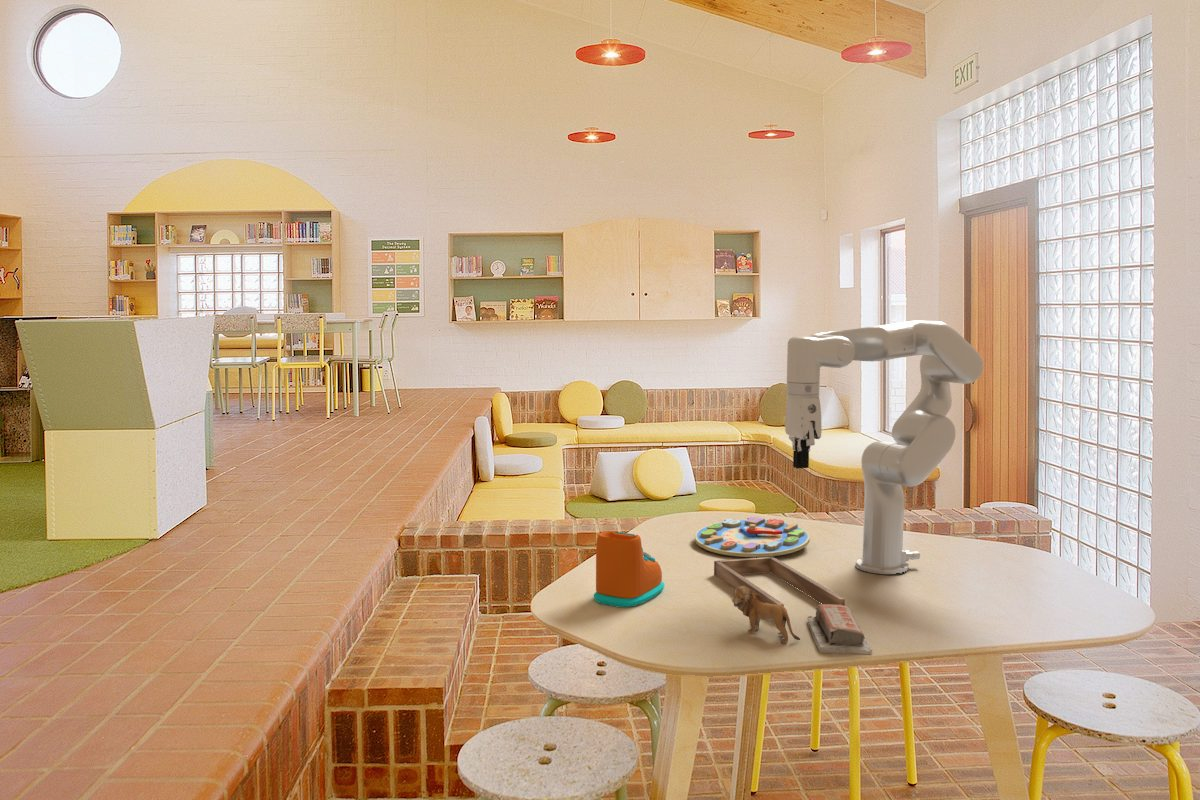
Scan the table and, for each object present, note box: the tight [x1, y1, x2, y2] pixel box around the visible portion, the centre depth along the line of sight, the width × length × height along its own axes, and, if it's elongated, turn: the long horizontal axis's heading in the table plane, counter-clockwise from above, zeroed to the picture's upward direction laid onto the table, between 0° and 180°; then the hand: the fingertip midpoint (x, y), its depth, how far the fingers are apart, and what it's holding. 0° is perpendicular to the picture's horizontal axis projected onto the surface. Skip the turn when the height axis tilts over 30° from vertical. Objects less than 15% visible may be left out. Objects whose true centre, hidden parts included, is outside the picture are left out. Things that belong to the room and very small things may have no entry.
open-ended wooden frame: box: [713, 556, 846, 607], centre depth 225 cm, size 15×35×4 cm, turn 16°
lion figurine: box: [731, 586, 801, 644], centre depth 197 cm, size 15×5×9 cm, turn 54°
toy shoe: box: [593, 530, 665, 608], centre depth 223 cm, size 12×20×15 cm, turn 150°
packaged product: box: [806, 603, 873, 655], centre depth 196 cm, size 18×5×10 cm
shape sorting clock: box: [694, 516, 811, 558], centre depth 268 cm, size 31×30×6 cm
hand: (800, 467), depth 233 cm, fingers closed
